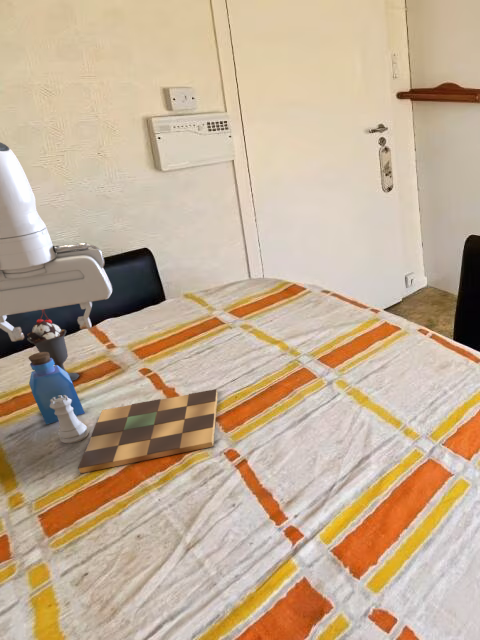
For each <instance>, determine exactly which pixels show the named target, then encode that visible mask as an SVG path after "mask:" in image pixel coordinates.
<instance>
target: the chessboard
mask: <svg viewBox="0 0 480 640" xmlns="http://www.w3.org/2000/svg"><path fill="white" fill-rule="evenodd" d="M218 396H219V393H218V390H217V388H215V389H209V390H204V391H198V392H192V393H188V394H184V395H178V396H174V397H168V398H163V399H161V398H157V399H154V400H153V399H152V400H147V401H141V402H136V403H131V404H128V405H123V406H118V407H112V408H106V409H102V410H101V412H100V414H99V417H98V419H97V421H96V423H95V425H94V428H93V431H92V433H91V435H90V439H89V442H88V444H87V447H86V449H85V451H84V452H83V455H82V458H81V460H80V461H79V462H80V463H79V465H78V467H77V469H78V471H79V473H80V474H84V473H90V472H94V471H99V470H105V469H109V468H114V467H118V466H124V465H130V464H133V463H138V462H144V461H148V460H153V459H158V458H163V457H168V456H169V457H170V456H174V455H178V454H184V453H188V452H193V451H198V450H202V449H207V448H212V447H214V443H215V431H216V420H217V419H216V418H217V407H218Z"/></svg>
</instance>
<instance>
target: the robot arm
mask: <svg viewBox="0 0 480 640" xmlns="http://www.w3.org/2000/svg"><path fill="white" fill-rule="evenodd" d="M36 201H37V200H36V196H35V194H34V191H33V189H32V186H31V184H30V181H29V179H28V176H27V174H26V173H25V170H24V168H23V166H22V164H21V163H20V160H19V159H18V157H17V156H16V154H15V153H14V151H13V150H12V149H11V148H10V147H9V146H7V144H5V143H3V142H1V141H0V329H1V330H2V331H4V332H5V333H7V334H8V337H9V339H10V341H11V342H19V341H23V340H24V339H25V334H24V333H23V332H22V331H23V330H22V327H21V326H16V327H15V326H13V325H12V324H10V323H9V321H7V318H8V316H11V315H16V314H23V313H29V312H36V311H42V309H45V310H48V309H54V308H60V307H65V306H66V307H68V306H73V305H78V304H79V306H80V309H81V310H84V312H83V315H81V316H78V317H77V320H76V321H77V324H78V325H79V329H80V330H87V329H92V322H91V319H90V314H91V311H92V307H93V302H97V301H103V300H108V299H109V298H110V297H111V295H112V293H113V285H112V283H111V281H110V279H109V276H108V274H107V273H106V270H105V269H104V266H105V258H104V256H103V253H102V251H101V249H100V248H99V247H98V246H97V245H93V244H89V243H88V242H78V243H77V242H76V243H74V244H62V245H61V244H60V245H54V244H53V241H52V238H51V235H50V233H49V230H48V227H47V225H46V222H44V220H43V218H41V216H40V214H39V212H38V210H37V203H36Z"/></svg>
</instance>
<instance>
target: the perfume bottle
mask: <svg viewBox="0 0 480 640" xmlns="http://www.w3.org/2000/svg"><path fill="white" fill-rule="evenodd" d="M28 360H29V362H30V363H29V366H30V368H31V370H32V371H31V373H30V377H29V382H28V384H29V387H30V390H31V393H32V396H33V398H34V401H35V403H36V405H37V407H38V410H39V412H40V414H41V416H42V418H43V421H44V423H45V425H46V426H47V425H50V424H53V423H56V422H59V420H58V417H57V415H55V414H54V413H55V410H54V409H52V408H50V404H51V402H50V400H51V399H52V398H54V397H56V399H58V398H59V397H58V396H59V395H62V397H63V395H66V396H67V397H68V398H69V399H71V400H72V402H71V404H70V405H71V407H73V412H74V414H75V416H76V417H77V416H80V415H82V414H83V415H84V414H85V410H84V408H83V405H82V403H81V400H80V397H79V396H78V393H77V390H76V388H75V386H74V383H73V381H71V379H70V377H69V375H68V373H69V372H68V371H67V370H66V371H64V370H63V369H62V368H60V367H59V366H58V365H54V361H53V359H52V358H50V356H49V353H48V352H36V353H33V354H31V355H29V356H28ZM67 372H68V373H67ZM52 400H53V399H52Z"/></svg>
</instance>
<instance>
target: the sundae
mask: <svg viewBox="0 0 480 640" xmlns="http://www.w3.org/2000/svg"><path fill="white" fill-rule="evenodd" d="M45 311H46V309H42V310H41V313H42V314H41V316H40V317H39V318H38V319H37V320H36V323H35V324H34V325H33V327H32V330H31V331H30V332H29V333H26V336H28V337H27V341H28V342H30V343H31V344H33V345H34V346H35V348H36V349H37V350H38V353H40V352H48V353H49V356H50V358H52V359H53V361H54V365H53V366H55V365H58V366H59V367H60V368H62V369H63V370H64V371H66V372H67V373H68V375H69V377H70V379H71V381H72V382H74V381H77V379H79V377H80V374H79V373H76V372H68V371H67V370H66V368H65V366H64V363H65V362H66V361H67V359H68V357H69V353H68V347H67V345H66V340H65V336H66V334H67V330H66V329H64V328H61V327H60V326H59V325H57V324H55V323H53V321H52V319H50V318H48V316H47V314H46V312H45ZM43 315H44V316H45V320H44V319H42V318H43Z"/></svg>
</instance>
